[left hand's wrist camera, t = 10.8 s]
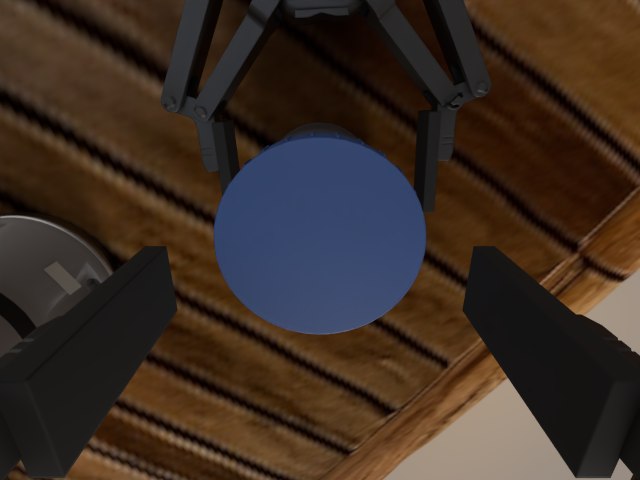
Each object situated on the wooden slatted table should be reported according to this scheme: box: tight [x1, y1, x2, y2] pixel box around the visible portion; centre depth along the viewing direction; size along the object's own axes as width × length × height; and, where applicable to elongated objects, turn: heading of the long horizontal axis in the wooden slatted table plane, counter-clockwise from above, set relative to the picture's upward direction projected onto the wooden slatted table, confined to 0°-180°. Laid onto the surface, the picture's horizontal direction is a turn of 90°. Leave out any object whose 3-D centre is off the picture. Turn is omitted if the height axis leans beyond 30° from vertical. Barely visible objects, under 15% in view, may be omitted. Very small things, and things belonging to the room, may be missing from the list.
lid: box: [214, 131, 426, 334], centre depth 17 cm, size 10×10×2 cm
